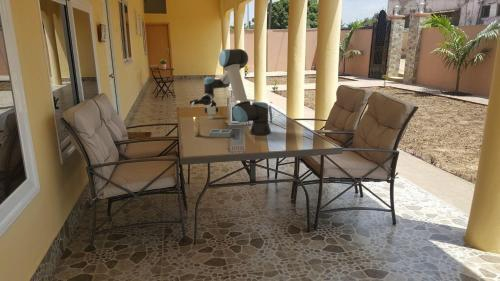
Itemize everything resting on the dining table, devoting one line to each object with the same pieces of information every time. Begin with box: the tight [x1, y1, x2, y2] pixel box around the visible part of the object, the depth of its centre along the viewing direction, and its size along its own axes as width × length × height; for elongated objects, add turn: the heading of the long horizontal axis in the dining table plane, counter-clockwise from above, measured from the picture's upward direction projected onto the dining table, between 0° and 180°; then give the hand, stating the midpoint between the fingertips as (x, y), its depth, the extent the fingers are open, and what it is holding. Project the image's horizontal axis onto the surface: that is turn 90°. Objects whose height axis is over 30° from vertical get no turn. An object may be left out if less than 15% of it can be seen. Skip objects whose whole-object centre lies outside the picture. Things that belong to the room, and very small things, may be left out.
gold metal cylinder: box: [193, 116, 201, 138], centre depth 268 cm, size 4×4×14 cm
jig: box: [208, 128, 233, 138], centre depth 268 cm, size 15×10×4 cm, turn 82°
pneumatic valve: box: [203, 105, 219, 120], centre depth 328 cm, size 6×12×12 cm, turn 101°
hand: (200, 106), depth 272 cm, fingers open, 13 cm apart
